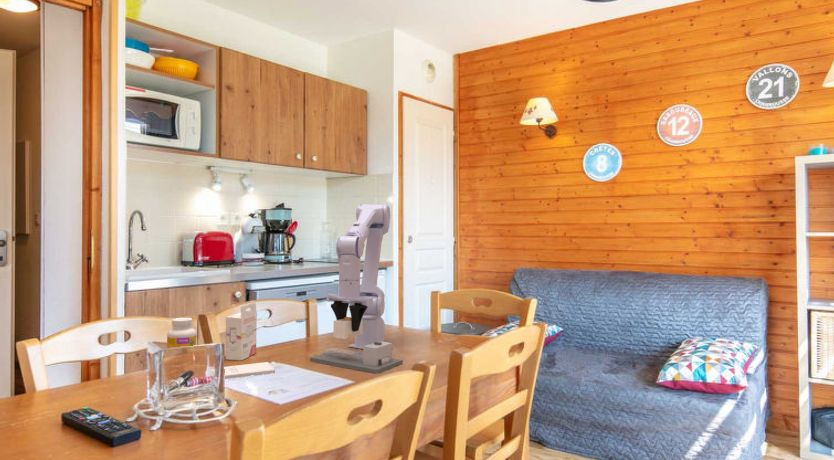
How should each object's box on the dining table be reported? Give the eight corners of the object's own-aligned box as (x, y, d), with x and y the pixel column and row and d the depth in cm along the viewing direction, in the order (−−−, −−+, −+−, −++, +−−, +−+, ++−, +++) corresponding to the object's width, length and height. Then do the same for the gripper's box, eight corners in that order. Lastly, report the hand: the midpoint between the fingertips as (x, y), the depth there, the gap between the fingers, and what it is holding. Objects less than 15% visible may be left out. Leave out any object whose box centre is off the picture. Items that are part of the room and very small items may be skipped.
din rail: (333, 352, 153) (333, 347, 153) (389, 362, 143) (389, 356, 143) (324, 355, 150) (324, 349, 150) (381, 365, 140) (381, 359, 140)
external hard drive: (274, 375, 135) (222, 381, 129) (267, 367, 142) (217, 372, 136) (274, 369, 135) (222, 374, 129) (267, 361, 142) (217, 366, 136)
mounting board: (338, 352, 157) (338, 349, 157) (402, 363, 146) (402, 359, 146) (310, 361, 147) (310, 357, 147) (376, 373, 136) (376, 369, 136)
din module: (350, 332, 152) (351, 314, 152) (362, 334, 150) (362, 316, 150) (333, 337, 145) (333, 318, 145) (345, 339, 143) (345, 320, 143)
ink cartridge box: (240, 352, 155) (241, 301, 155) (256, 353, 154) (257, 302, 154) (224, 359, 147) (225, 305, 147) (241, 361, 146) (241, 306, 146)
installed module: (379, 358, 147) (379, 338, 147) (391, 360, 145) (392, 340, 145) (362, 364, 141) (363, 343, 140) (375, 366, 138) (375, 345, 138)
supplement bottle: (173, 375, 131) (174, 322, 131) (161, 370, 135) (162, 318, 135) (200, 370, 136) (201, 319, 136) (188, 365, 140) (189, 315, 140)
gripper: (319, 279, 148) (318, 329, 148) (361, 283, 140) (361, 335, 140) (336, 277, 154) (335, 325, 154) (377, 280, 146) (376, 331, 147)
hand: (348, 330), depth 148 cm, fingers closed on din module, 4 cm apart
